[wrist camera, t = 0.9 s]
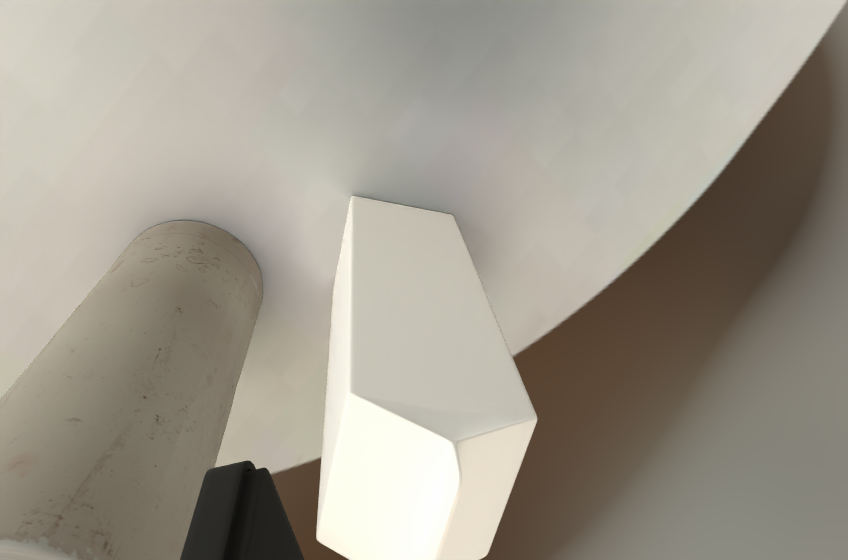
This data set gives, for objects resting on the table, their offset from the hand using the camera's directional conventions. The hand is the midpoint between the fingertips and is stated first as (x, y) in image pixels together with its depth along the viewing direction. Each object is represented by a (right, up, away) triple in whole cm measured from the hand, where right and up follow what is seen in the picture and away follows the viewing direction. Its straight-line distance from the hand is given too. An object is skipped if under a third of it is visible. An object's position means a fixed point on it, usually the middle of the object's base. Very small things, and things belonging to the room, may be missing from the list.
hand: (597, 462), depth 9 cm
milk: (-4, +4, +28) cm, 29 cm away
